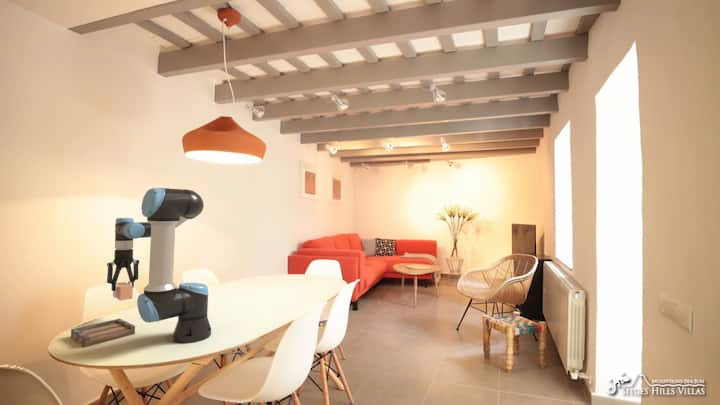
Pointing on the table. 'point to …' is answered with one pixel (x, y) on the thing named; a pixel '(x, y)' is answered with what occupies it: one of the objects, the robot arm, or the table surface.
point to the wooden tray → (102, 332)
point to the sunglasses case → (124, 291)
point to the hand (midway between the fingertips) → (122, 295)
